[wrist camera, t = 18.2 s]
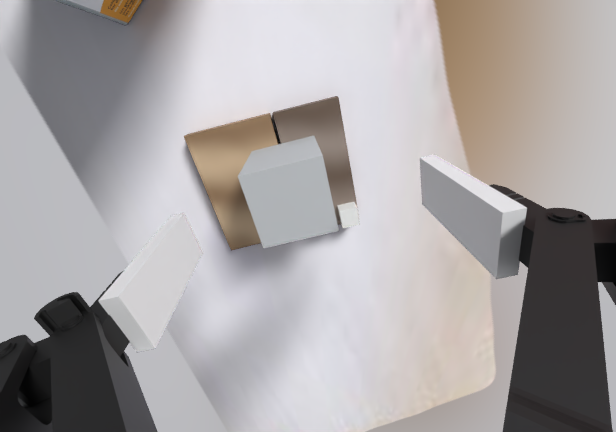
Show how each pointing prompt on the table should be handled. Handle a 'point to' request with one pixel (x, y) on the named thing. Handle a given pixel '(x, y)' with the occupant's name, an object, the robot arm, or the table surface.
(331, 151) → the laminate strip
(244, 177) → the block
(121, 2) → the hard drive box
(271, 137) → the board
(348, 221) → the spacer wedges
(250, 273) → the table surface
